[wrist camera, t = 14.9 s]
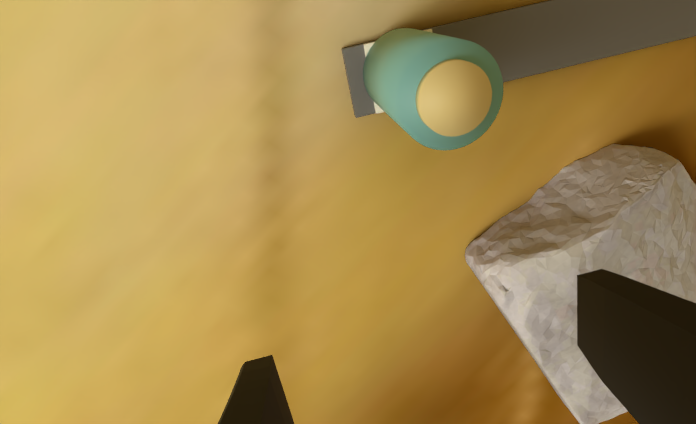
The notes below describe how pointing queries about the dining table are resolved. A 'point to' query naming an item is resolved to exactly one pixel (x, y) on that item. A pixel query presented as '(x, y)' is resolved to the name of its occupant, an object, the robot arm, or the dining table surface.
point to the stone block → (588, 257)
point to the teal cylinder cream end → (434, 86)
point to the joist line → (550, 36)
